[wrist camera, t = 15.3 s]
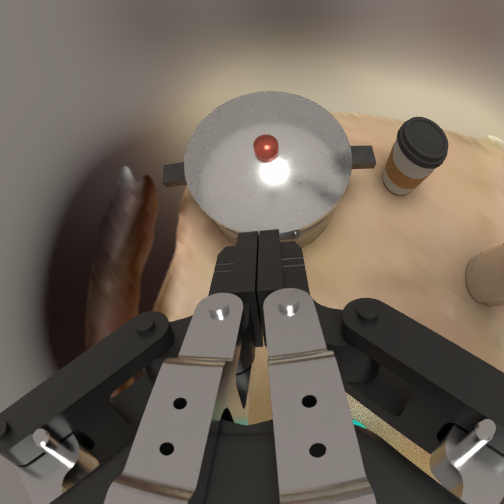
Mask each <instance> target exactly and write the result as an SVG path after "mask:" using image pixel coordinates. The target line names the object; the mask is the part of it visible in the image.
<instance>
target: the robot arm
mask: <svg viewBox="0 0 504 504" xmlns="http://www.w3.org/2000/svg"><path fill="white" fill-rule="evenodd" d="M466 283H467V288H468V290H469V293H470V294H471V296H472V297H473V298H474V299H475V300H476V301H478V302H480V303H486V304H488V305H489V306H496V305H502V304H504V243H503V244H501V245H499V246H497V247H495V248H492V249H490V250H488V251H486V252H483V253H481V254H479V255H477V256H475V257H474V258H472V260H471V261H470V262H469V264H468V267H467V271H466ZM263 336H264V343H265V346H267V351H268V370H269V381H270V392H271V403H272V414H273V420H269V421H265V422H262V423H258V424H253V425H248V411H249V404H250V397H251V390H252V383H253V376H254V369H255V364H254V358H255V347H263ZM142 369H143V370H144V372H145V375H143V376H142V377H141V378H140V379H138V380H137V381H136V382H134V383H133V384H132V385H130V386H129V387H128V388H127V389H125V390H124V391H123V392H121V393H120V394H119V395H117V396H116V397H113V398H110V396H111V394H112V393H113V391H115V390H116V389H117V388H118V387H120V386H121V385H122V384H124V383H125V382H126V381H128V380H129V379H130V378H132V377H133V376H134V375H135V374H137V373H138V372H139V371H141V370H142ZM345 391H346V392H347V393H348V394H349V395H351V396H352V397H353V398H355V399H356V400H357V401H358V402H360V403H361V404H362V405H364V406H365V407H366V408H368V409H369V410H370V411H372V412H373V413H374V414H376V415H377V416H378V417H380V418H381V419H382V420H384V421H385V422H386V423H388V424H389V425H390V426H392V427H393V428H394V429H396V430H397V431H399V432H400V433H401V434H403V435H404V436H405V437H407V438H408V439H410V440H411V441H412V442H414V443H415V444H417V445H418V446H419V447H421V448H422V449H424V450H425V451H427V452H428V453H429V454H431V458H430V468H431V471H432V474H433V475H434V477H435V478H436V479H437V480H438V481H439V482H440V483H441V484H442V485H441V484H439V483H438V482H437V481H435V480H434V479H433V478H431V477H430V476H429V475H427V474H426V473H425V472H423V471H422V470H421V469H420V468H418V467H417V466H416V465H414V464H413V463H412V462H411V461H409V460H408V459H407V458H406V457H404V456H403V455H402V454H401V453H399V452H398V451H397V450H396V449H394V448H393V447H392V446H391V445H389V444H388V443H387V442H386V441H385V440H383V439H382V438H381V437H379V436H378V435H377V434H375V433H373V432H372V431H370V430H368V429H366V428H363V427H361V426H358V425H355V424H353V421H352V417H351V413H350V409H349V405H348V401H347V398H346V394H345ZM0 454H1V455H2V456H3V457H5V458H6V459H7V460H9V461H10V462H11V463H12V464H13V465H14V466H15V467H16V469H17V471H18V473H19V476H20V478H21V480H22V482H23V485H24V487H25V489H26V491H27V493H28V495H29V497H30V499H31V501H32V503H33V504H499V503H500V501H501V500H502V498H503V496H504V373H503V372H501V371H500V370H498V369H496V368H495V367H493V366H491V365H490V364H488V363H486V362H485V361H483V360H481V359H480V358H478V357H476V356H475V355H473V354H471V353H470V352H468V351H466V350H464V349H463V348H461V347H459V346H458V345H456V344H454V343H453V342H451V341H449V340H447V339H446V338H444V337H442V336H441V335H439V334H437V333H435V332H434V331H432V330H430V329H429V328H427V327H425V326H423V325H422V324H420V323H418V322H416V321H415V320H413V319H411V318H410V317H408V316H406V315H404V314H403V313H401V312H399V311H397V310H396V309H394V308H392V307H390V306H389V305H387V304H385V303H383V302H381V301H379V300H376V299H372V298H360V299H356V300H353V301H351V302H350V303H348V304H347V305H346V306H345V308H344V309H343V310H339V309H332V308H328V307H324V306H322V305H320V304H318V303H317V302H315V301H314V300H313V298H312V297H311V295H310V293H309V287H308V281H307V276H306V270H305V265H304V259H303V253H302V248H301V247H300V246H299V245H298V244H297V243H296V242H295V241H287V242H280V235H279V229H272V230H261V231H259V233H258V231H250V232H239V233H238V238H237V244H236V246H229V247H225V248H224V249H223V250H222V251H221V252H220V253H219V254H218V257H217V261H216V266H215V270H214V274H213V278H212V282H211V287H210V291H209V295H208V297H206V298H204V299H203V300H201V301H200V302H199V303H198V305H197V306H196V308H195V311H194V314H193V315H192V316H190V317H187V318H184V319H180V320H176V321H173V322H169V321H168V319H167V317H166V316H165V315H164V314H162V313H160V312H145V313H142V314H139V315H137V316H136V317H134V318H133V319H131V320H130V321H128V322H127V323H125V324H124V325H123V326H121V327H120V328H118V329H117V330H115V331H114V332H113V333H111V334H110V335H108V336H107V337H106V338H104V339H103V340H101V341H100V342H98V343H97V344H96V345H94V346H93V347H91V348H90V349H89V350H87V351H86V352H84V353H83V354H82V355H80V356H79V357H77V358H76V359H75V360H73V361H72V362H70V363H69V364H68V365H66V366H65V367H63V368H62V369H61V370H59V371H58V372H56V373H55V374H54V375H52V376H51V377H49V378H48V379H47V380H45V381H44V382H42V383H41V384H40V385H38V386H37V387H36V388H34V389H33V390H31V391H30V392H29V393H27V394H26V395H25V396H23V397H22V398H20V399H19V400H18V401H16V402H15V403H14V404H12V405H11V406H10V407H8V408H7V409H6V410H4V411H3V412H1V413H0ZM99 464H100V465H99Z"/></svg>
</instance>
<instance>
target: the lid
mask: <svg viewBox="0 0 504 504" xmlns="http://www.w3.org/2000/svg"><path fill="white" fill-rule="evenodd" d="M351 169H352V153H351V147H350V144H349V141H348V138H347V136H346V134H345V132H344V130H343V128H342V127H341V125H340V124H339V122H338V121H337V120H336V119H335V118H334V117H333V116H332V115H331V114H330V113H329V112H328V111H327V110H326V109H324V108H323V107H321V106H320V105H318V104H317V103H315V102H313V101H310V100H309V99H306V98H304V97H301V96H298V95H295V94H290V93H285V92H273V91H267V92H256V93H251V94H246V95H243V96H240V97H237V98H234V99H232V100H230V101H228V102H226V103H224V104H222V105H221V106H219V107H217V108H216V109H214V110H213V111H212V112H211V113H210V114H208V115H207V116H206V117H205V118H204V119H203V120H202V121H201V123H200V124H199V125H198V127H197V128H196V129H195V131H194V133H193V134H192V136H191V138H190V140H189V143H188V145H187V149H186V153H185V160H184V173H185V178H186V182H187V185H188V188H189V191H190V193H191V194H192V196H193V198H194V200H195V201H196V202H197V204H198V205H199V206H200V208H201V209H202V210H203V211H204V212H205V213H206V214H207V215H208V216H209V217H210V218H211V219H213V220H214V221H215V222H217V223H218V224H220V225H222V226H223V227H225V228H227V229H229V230H232V231H235V232H237V233H239V232H250V231H258V233H259V231H261V230H272V229H279V235H280V241H285V240H296V239H298V238H299V237H300V231H301V230H303V229H306V228H308V227H310V226H312V225H314V224H315V223H317V222H319V221H320V220H321V219H323V218H324V217H325V216H326V215H328V214H329V213H330V212H331V210H332V209H333V208H334V207H335V206H336V205H337V203H338V202H339V201H340V199H341V198H342V196H343V194H344V192H345V190H346V188H347V185H348V182H349V179H350V176H351Z"/></svg>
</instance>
